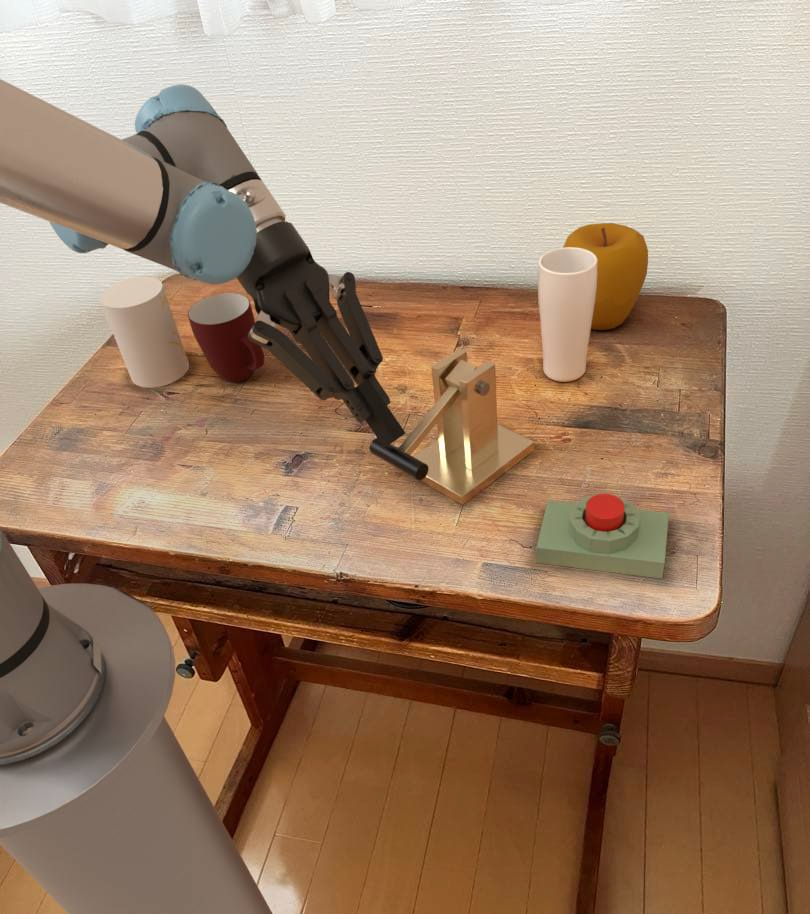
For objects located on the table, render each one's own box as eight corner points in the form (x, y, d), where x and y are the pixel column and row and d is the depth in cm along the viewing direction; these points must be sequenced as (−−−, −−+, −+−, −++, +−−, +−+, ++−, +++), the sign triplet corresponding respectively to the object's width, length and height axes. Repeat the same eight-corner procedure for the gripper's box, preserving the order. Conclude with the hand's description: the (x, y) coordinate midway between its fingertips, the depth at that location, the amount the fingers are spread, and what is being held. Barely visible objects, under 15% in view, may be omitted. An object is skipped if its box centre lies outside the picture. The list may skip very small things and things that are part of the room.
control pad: (536, 563, 82) (536, 534, 79) (547, 515, 87) (547, 486, 84) (662, 578, 79) (666, 549, 76) (666, 528, 84) (671, 498, 81)
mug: (293, 371, 112) (277, 303, 105) (254, 402, 108) (234, 334, 101) (236, 353, 117) (217, 287, 110) (196, 382, 113) (174, 316, 106)
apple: (640, 299, 116) (649, 207, 107) (643, 341, 108) (653, 246, 99) (560, 300, 118) (562, 210, 109) (557, 341, 110) (559, 248, 101)
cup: (197, 372, 114) (171, 292, 106) (142, 394, 112) (110, 314, 103) (177, 348, 120) (150, 270, 111) (123, 369, 117) (92, 291, 109)
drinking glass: (528, 365, 107) (528, 254, 97) (576, 352, 108) (581, 241, 98) (550, 392, 102) (553, 279, 92) (601, 378, 103) (609, 265, 93)
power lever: (421, 485, 84) (412, 472, 82) (374, 458, 88) (365, 445, 86) (500, 388, 86) (494, 374, 84) (451, 365, 90) (444, 351, 88)
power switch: (462, 505, 89) (454, 408, 80) (404, 471, 94) (391, 376, 86) (534, 450, 95) (534, 353, 86) (475, 421, 100) (470, 326, 91)
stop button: (583, 530, 80) (583, 516, 79) (587, 505, 82) (588, 491, 81) (621, 534, 79) (622, 520, 78) (625, 508, 81) (626, 495, 80)
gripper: (211, 249, 75) (360, 463, 78) (320, 196, 81) (456, 397, 83) (196, 286, 82) (333, 483, 84) (297, 235, 88) (424, 420, 90)
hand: (394, 440), depth 84 cm, fingers closed
